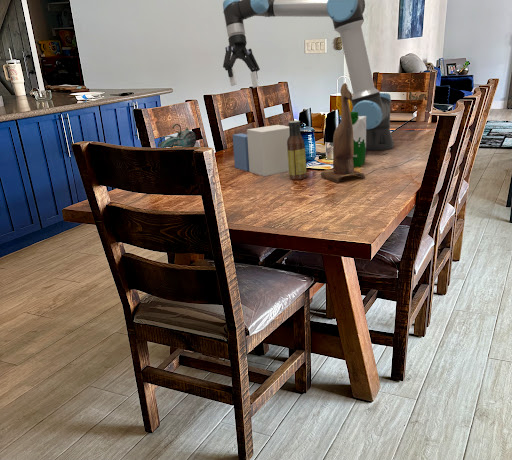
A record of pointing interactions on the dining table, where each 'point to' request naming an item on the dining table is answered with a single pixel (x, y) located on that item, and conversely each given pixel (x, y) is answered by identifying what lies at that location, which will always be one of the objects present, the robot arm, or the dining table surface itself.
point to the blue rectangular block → (241, 151)
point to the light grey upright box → (268, 149)
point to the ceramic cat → (179, 139)
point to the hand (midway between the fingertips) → (244, 86)
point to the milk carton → (359, 139)
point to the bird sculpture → (343, 143)
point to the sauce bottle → (296, 152)
